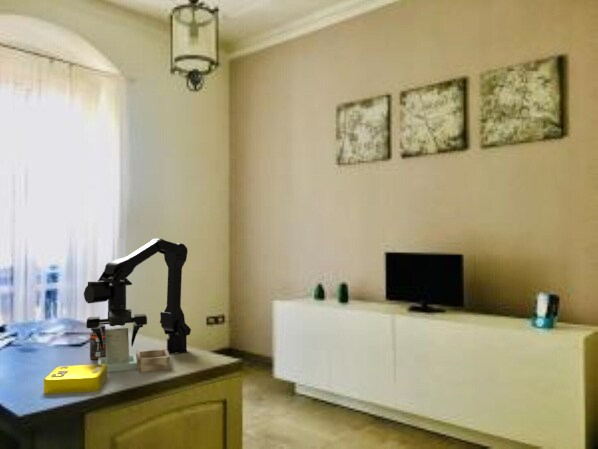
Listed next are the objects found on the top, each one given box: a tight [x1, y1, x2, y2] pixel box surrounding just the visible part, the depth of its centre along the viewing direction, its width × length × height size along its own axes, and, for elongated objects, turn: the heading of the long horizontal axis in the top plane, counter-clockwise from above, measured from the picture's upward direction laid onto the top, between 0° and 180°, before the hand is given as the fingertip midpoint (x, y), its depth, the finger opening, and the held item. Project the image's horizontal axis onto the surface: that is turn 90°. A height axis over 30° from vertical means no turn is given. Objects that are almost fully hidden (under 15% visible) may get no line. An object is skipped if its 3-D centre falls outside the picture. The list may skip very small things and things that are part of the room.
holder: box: [135, 348, 171, 373], centre depth 175 cm, size 10×12×4 cm
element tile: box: [43, 363, 108, 395], centre depth 155 cm, size 15×15×5 cm
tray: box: [97, 354, 137, 373], centre depth 175 cm, size 12×12×2 cm
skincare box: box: [105, 326, 130, 365], centre depth 175 cm, size 6×4×12 cm
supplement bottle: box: [89, 324, 106, 361], centre depth 186 cm, size 6×6×11 cm
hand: (117, 347), depth 175 cm, fingers open, 9 cm apart
